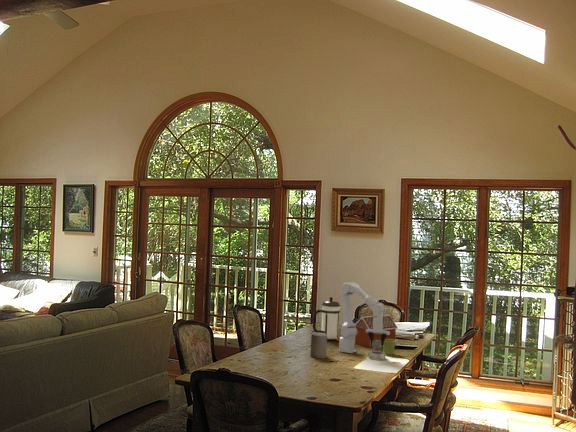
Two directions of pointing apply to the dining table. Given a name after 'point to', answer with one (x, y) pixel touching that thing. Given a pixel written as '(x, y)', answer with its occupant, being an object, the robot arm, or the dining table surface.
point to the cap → (376, 344)
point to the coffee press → (329, 319)
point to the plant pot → (389, 346)
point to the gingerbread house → (367, 323)
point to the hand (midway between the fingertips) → (377, 345)
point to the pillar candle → (318, 345)
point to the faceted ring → (376, 355)
